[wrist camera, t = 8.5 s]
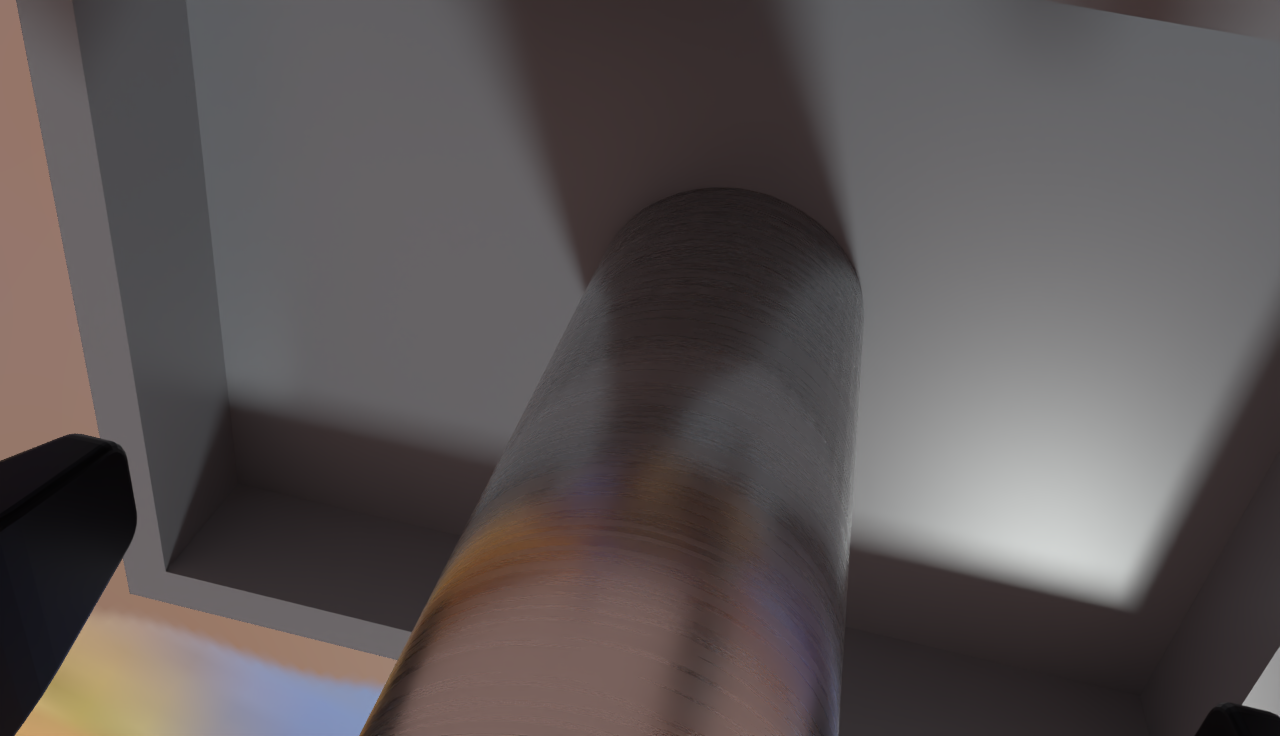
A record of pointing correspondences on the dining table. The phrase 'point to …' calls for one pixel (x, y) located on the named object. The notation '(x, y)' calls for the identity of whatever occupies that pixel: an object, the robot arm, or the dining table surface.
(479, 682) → the pin
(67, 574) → the robot arm
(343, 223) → the tray
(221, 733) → the dining table surface
